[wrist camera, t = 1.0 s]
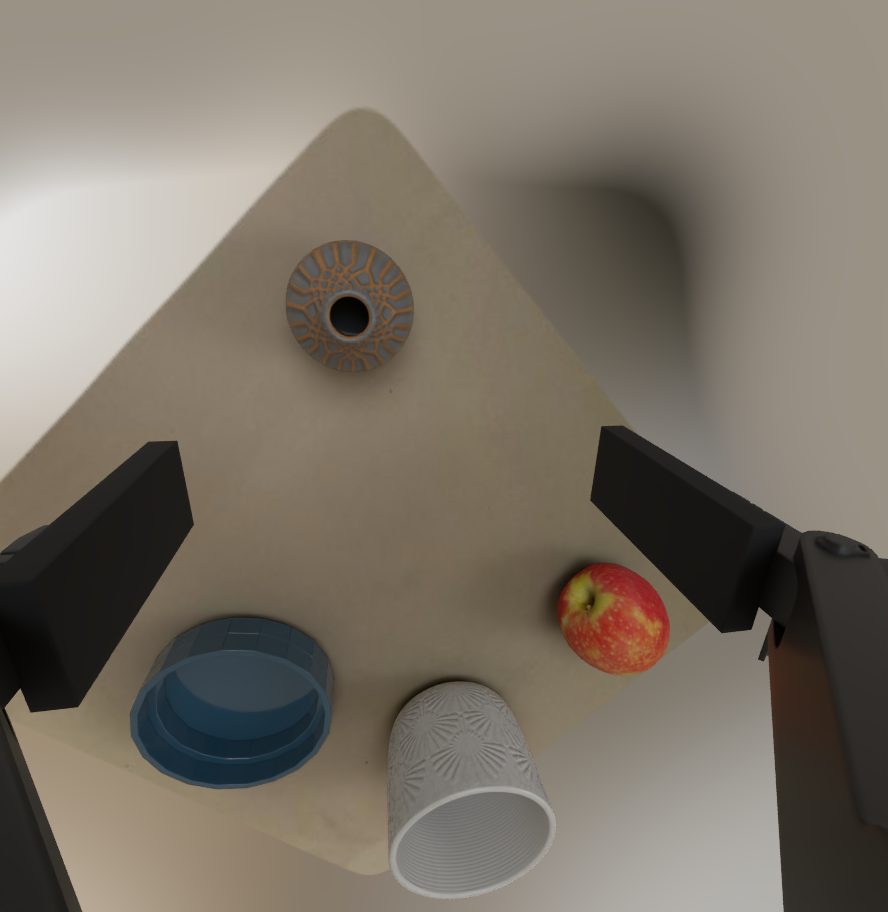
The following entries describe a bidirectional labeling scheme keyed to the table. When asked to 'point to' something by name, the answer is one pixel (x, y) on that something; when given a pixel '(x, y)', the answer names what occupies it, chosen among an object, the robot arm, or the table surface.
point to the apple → (613, 619)
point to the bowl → (234, 704)
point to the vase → (349, 306)
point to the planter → (463, 795)
